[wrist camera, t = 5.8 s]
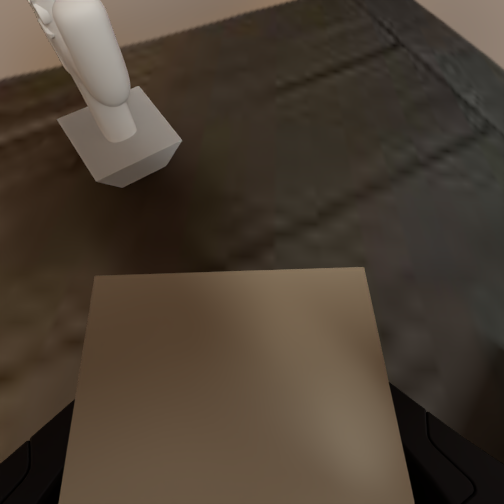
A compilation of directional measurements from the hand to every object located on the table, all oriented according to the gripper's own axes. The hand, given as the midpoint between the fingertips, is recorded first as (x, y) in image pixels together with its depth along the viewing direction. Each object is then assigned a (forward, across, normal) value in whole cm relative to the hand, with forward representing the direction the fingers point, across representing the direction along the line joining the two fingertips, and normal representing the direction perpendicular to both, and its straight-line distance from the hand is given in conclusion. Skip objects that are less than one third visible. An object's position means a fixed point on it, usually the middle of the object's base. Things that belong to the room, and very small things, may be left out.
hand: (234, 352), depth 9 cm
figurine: (+22, +9, -4) cm, 24 cm away
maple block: (+4, 0, +6) cm, 7 cm away
